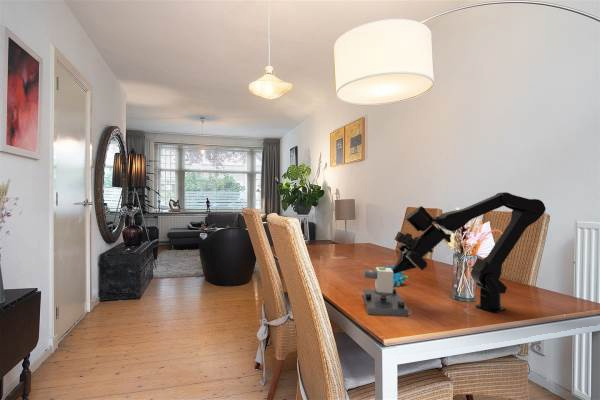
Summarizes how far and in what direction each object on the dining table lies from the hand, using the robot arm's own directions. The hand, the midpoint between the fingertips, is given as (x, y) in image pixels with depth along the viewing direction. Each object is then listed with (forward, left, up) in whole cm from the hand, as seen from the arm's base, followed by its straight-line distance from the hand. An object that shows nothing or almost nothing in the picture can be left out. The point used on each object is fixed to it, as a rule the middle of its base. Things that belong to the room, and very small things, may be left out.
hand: (392, 272), depth 106 cm
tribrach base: (+2, -2, -11) cm, 11 cm away
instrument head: (+4, -3, -7) cm, 8 cm away
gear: (-19, -18, -11) cm, 28 cm away
